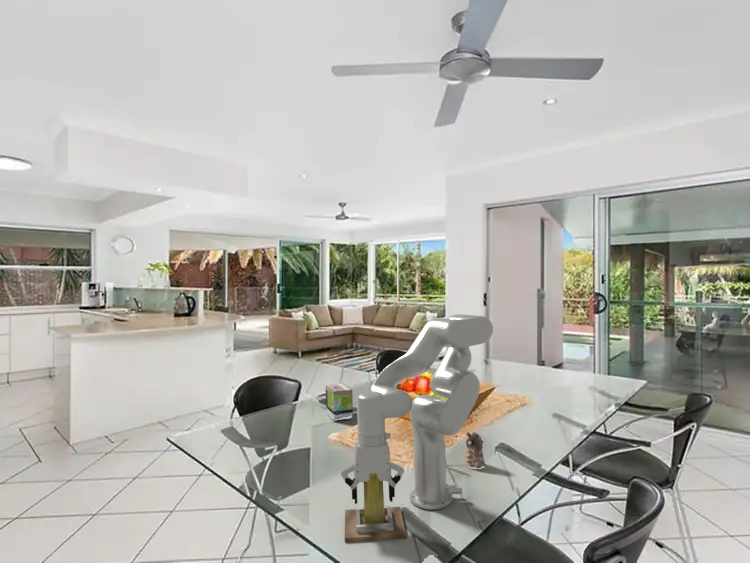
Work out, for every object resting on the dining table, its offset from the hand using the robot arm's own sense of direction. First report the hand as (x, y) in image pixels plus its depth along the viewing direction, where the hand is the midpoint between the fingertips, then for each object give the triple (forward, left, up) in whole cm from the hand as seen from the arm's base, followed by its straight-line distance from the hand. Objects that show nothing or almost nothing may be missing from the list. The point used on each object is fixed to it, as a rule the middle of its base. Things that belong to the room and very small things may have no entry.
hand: (373, 500), depth 121 cm
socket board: (0, 0, -7) cm, 7 cm away
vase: (0, 0, -6) cm, 6 cm away
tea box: (+12, -98, -7) cm, 99 cm away
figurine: (-38, -34, -7) cm, 51 cm away
